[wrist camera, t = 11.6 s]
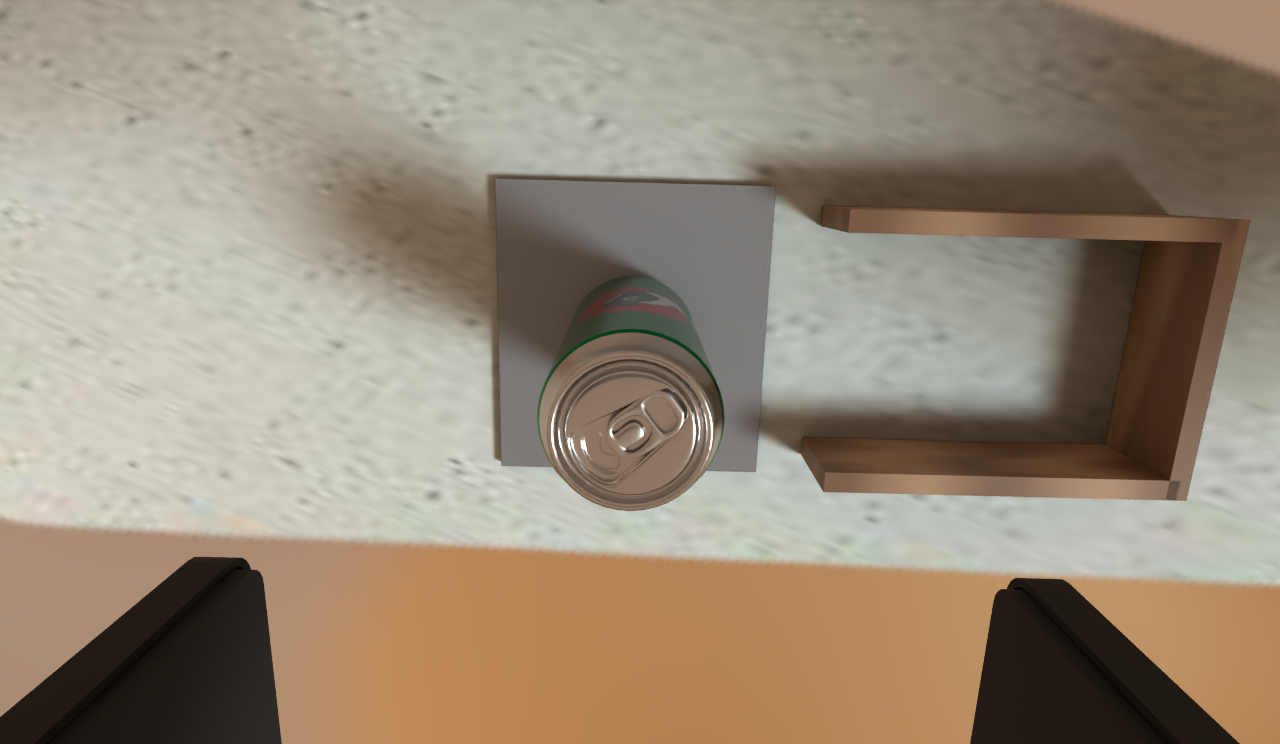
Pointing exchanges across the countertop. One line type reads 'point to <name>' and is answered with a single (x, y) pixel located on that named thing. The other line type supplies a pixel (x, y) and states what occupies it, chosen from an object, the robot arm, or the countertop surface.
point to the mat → (632, 246)
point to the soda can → (631, 398)
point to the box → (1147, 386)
